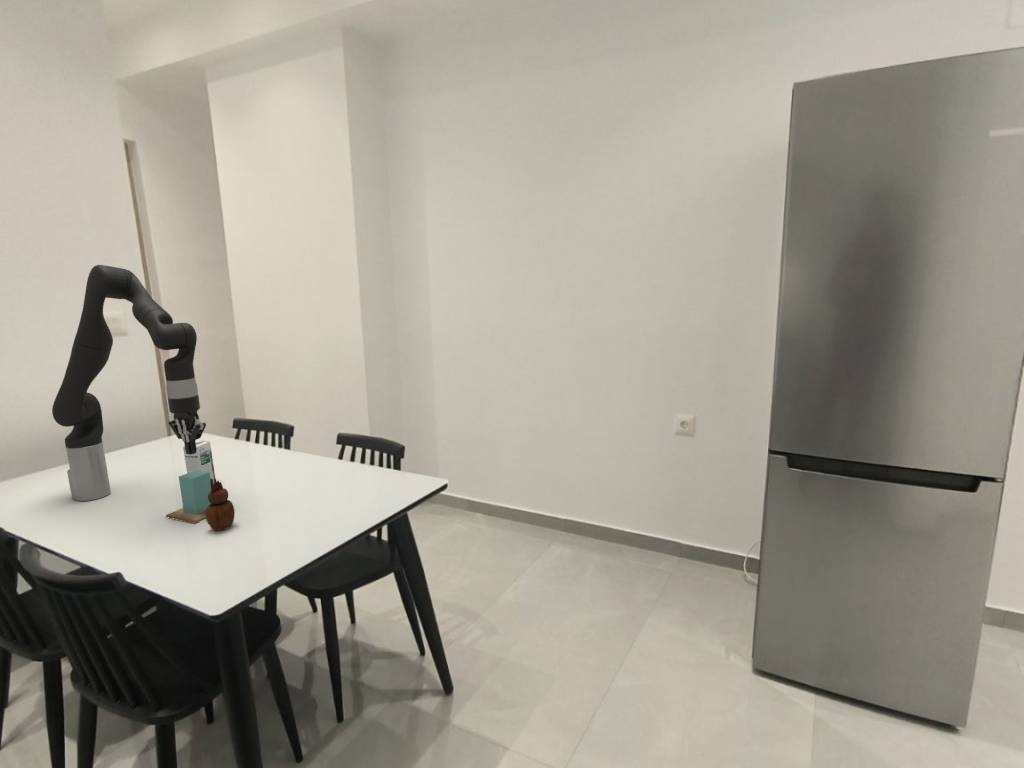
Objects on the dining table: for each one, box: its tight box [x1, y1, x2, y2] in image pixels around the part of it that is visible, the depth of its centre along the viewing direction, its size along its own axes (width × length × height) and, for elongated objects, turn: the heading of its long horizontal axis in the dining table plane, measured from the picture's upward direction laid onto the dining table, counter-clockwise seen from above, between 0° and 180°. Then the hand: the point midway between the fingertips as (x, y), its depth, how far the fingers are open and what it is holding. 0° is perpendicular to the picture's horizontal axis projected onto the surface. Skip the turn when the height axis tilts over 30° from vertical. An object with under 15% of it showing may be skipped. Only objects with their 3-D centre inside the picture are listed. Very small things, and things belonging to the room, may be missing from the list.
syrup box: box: [182, 440, 216, 483], centre depth 185 cm, size 6×6×14 cm
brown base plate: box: [165, 507, 207, 525], centre depth 163 cm, size 12×12×8 cm
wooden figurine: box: [205, 477, 235, 532], centre depth 152 cm, size 7×6×15 cm
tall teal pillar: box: [178, 470, 211, 515], centre depth 163 cm, size 6×6×11 cm
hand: (191, 453), depth 160 cm, fingers closed
